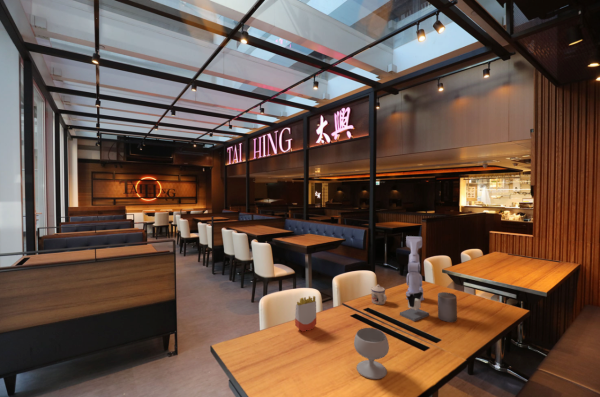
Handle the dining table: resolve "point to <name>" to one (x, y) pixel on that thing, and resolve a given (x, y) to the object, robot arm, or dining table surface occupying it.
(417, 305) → the cube
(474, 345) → the dining table surface
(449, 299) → the pillar candle
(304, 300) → the french fries container
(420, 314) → the serving board
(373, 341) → the chalice
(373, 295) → the teacup with lid
